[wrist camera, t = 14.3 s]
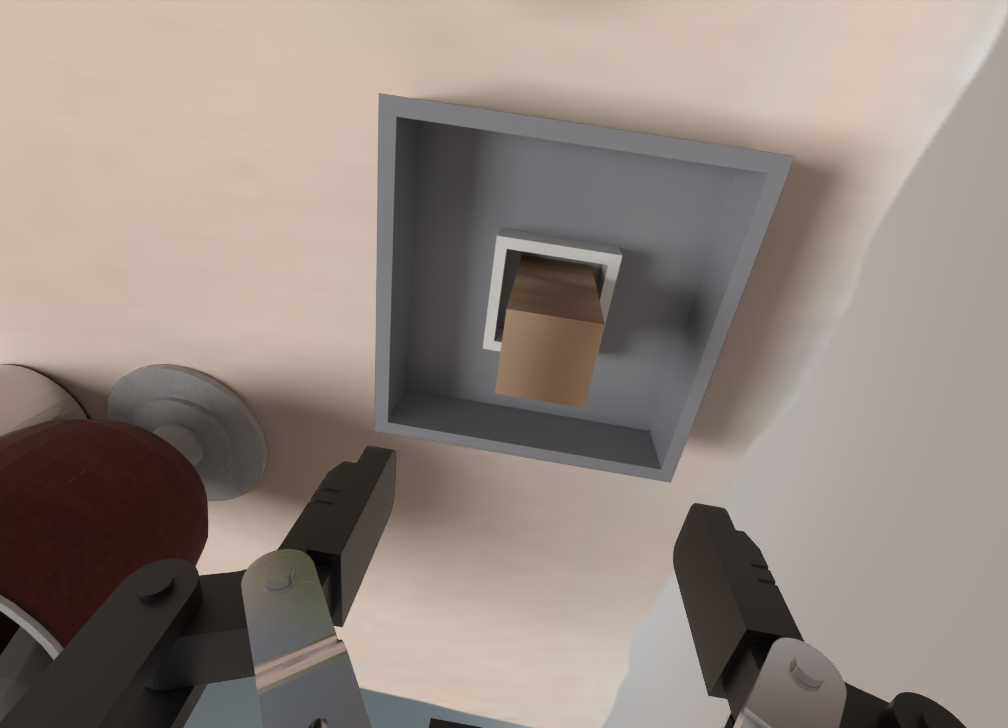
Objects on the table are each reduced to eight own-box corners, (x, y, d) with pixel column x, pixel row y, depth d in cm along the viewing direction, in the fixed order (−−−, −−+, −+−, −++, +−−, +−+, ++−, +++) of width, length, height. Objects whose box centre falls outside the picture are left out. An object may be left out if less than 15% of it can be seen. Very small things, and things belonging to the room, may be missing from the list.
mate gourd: (67, 366, 36) (-423, 608, 18) (232, 342, 33) (-144, 595, 15) (167, 522, 42) (-118, 813, 24) (311, 512, 40) (111, 825, 22)
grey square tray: (398, 390, 34) (374, 431, 29) (410, 98, 25) (378, 93, 21) (655, 434, 33) (670, 482, 29) (752, 150, 25) (794, 156, 20)
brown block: (512, 319, 29) (494, 393, 21) (521, 254, 27) (506, 309, 19) (577, 329, 29) (584, 408, 21) (591, 265, 27) (604, 324, 19)
